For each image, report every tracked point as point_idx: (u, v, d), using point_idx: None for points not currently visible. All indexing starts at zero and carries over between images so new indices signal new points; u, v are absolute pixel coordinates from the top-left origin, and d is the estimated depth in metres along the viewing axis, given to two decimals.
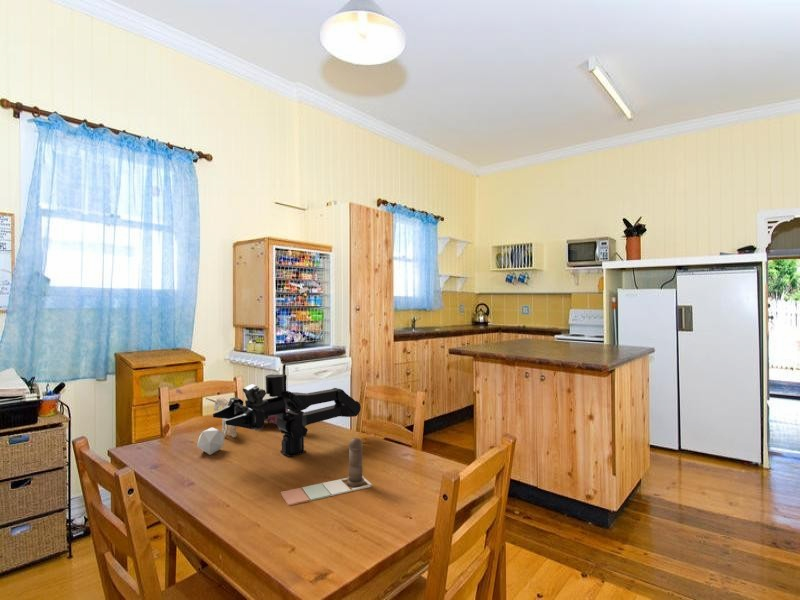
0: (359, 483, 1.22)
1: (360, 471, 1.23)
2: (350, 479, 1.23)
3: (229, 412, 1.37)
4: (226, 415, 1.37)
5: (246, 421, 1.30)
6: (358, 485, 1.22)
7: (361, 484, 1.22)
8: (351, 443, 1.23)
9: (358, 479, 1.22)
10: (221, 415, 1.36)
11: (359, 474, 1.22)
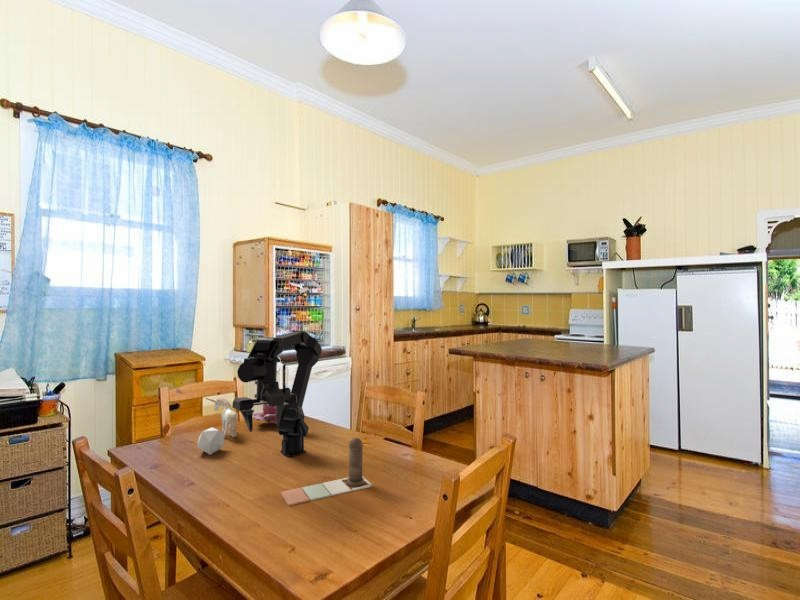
0: (359, 483, 1.22)
1: (360, 471, 1.23)
2: (350, 479, 1.23)
3: None
4: None
5: None
6: (358, 485, 1.22)
7: (361, 484, 1.22)
8: (351, 443, 1.23)
9: (358, 479, 1.22)
10: None
11: (359, 474, 1.22)
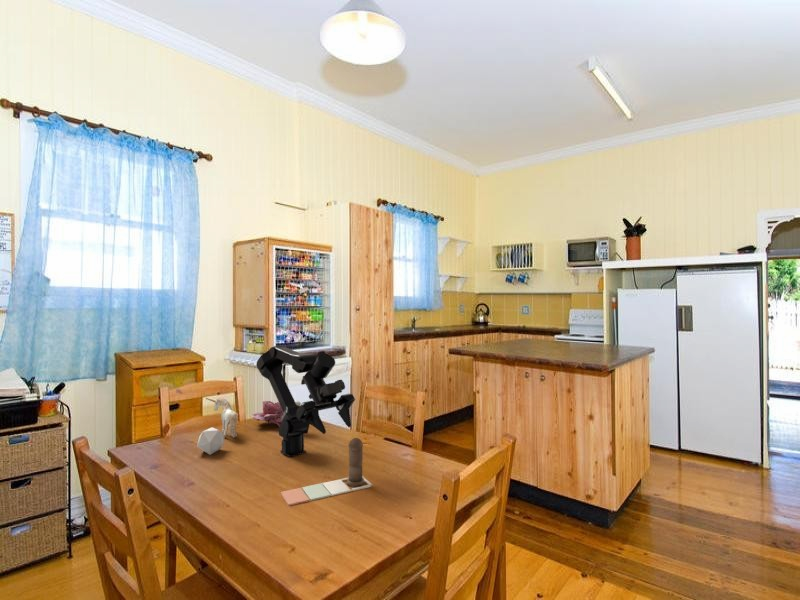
0: (359, 483, 1.22)
1: (360, 471, 1.23)
2: (350, 479, 1.23)
3: None
4: None
5: None
6: (358, 485, 1.22)
7: (361, 484, 1.22)
8: (351, 443, 1.23)
9: (358, 479, 1.22)
10: None
11: (359, 474, 1.22)
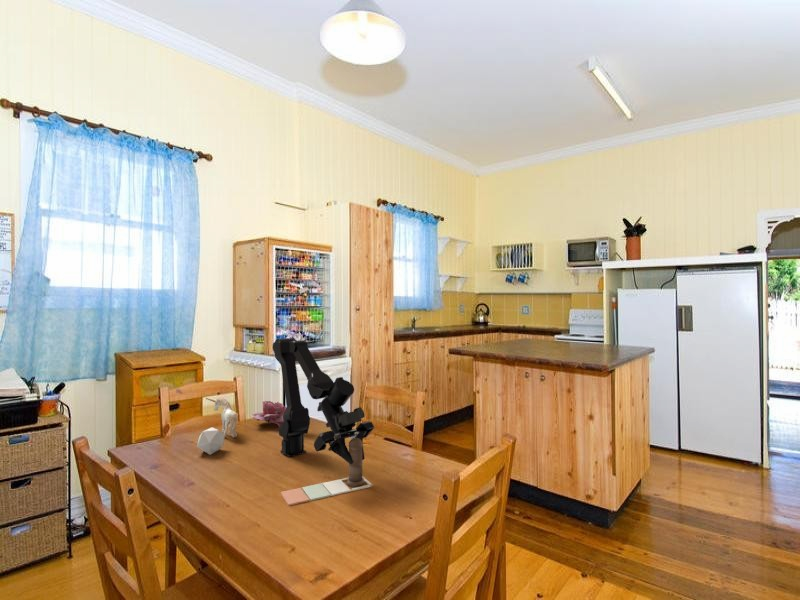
0: (359, 483, 1.22)
1: (360, 471, 1.23)
2: (350, 479, 1.23)
3: None
4: None
5: None
6: (358, 485, 1.22)
7: (361, 484, 1.22)
8: (351, 443, 1.23)
9: (358, 479, 1.22)
10: None
11: (359, 474, 1.22)
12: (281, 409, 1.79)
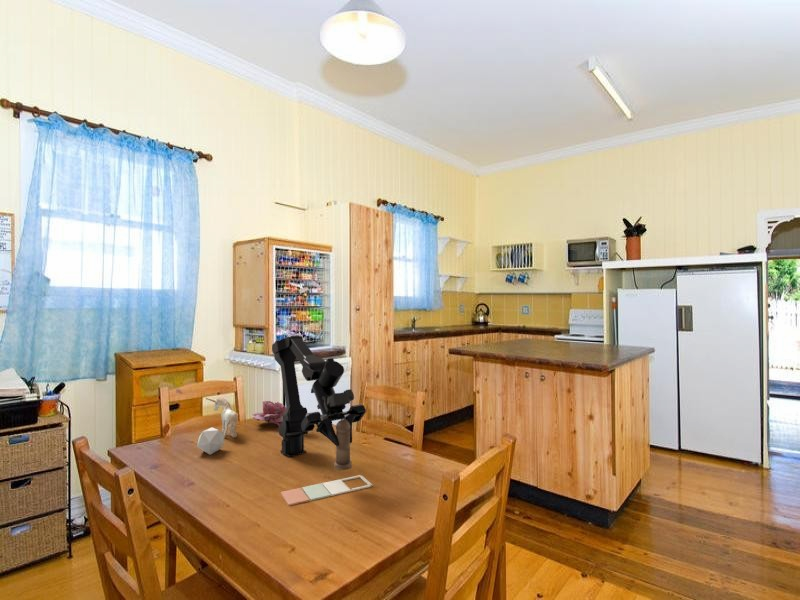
0: (345, 466, 1.19)
1: (347, 454, 1.20)
2: (337, 461, 1.20)
3: None
4: None
5: None
6: (344, 468, 1.19)
7: (348, 467, 1.19)
8: (338, 425, 1.20)
9: (345, 462, 1.19)
10: None
11: (345, 457, 1.19)
12: (281, 409, 1.79)
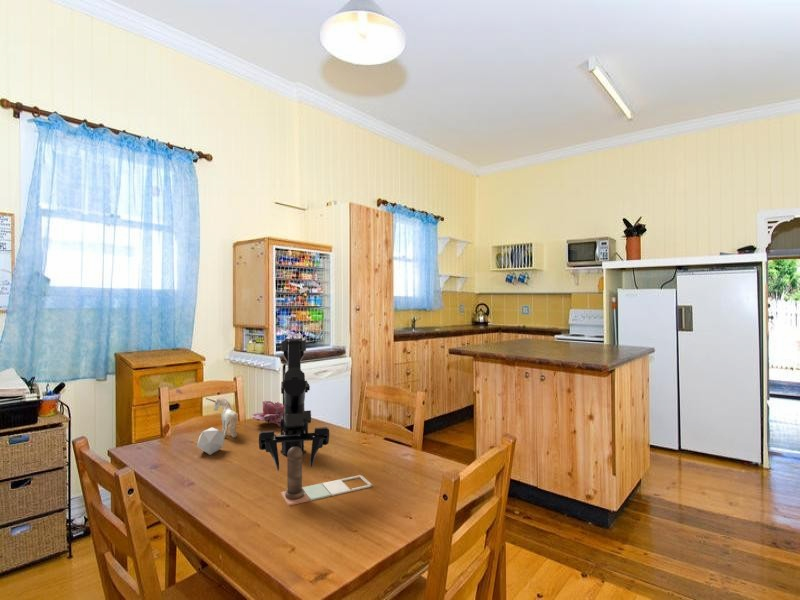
0: (293, 496, 1.13)
1: (295, 483, 1.14)
2: (287, 489, 1.15)
3: None
4: None
5: None
6: (291, 498, 1.13)
7: (295, 497, 1.13)
8: (288, 451, 1.15)
9: (293, 491, 1.13)
10: None
11: (293, 486, 1.13)
12: (281, 409, 1.79)
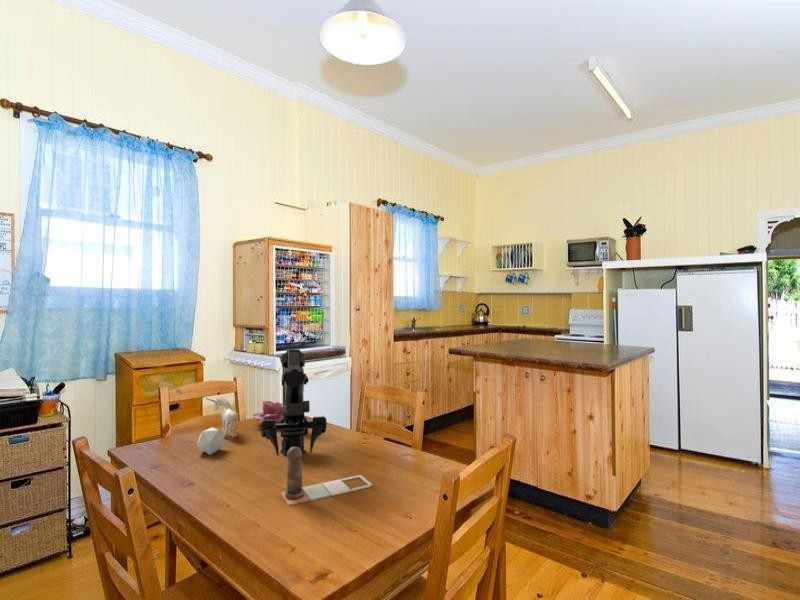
0: (292, 496, 1.13)
1: (295, 483, 1.14)
2: (287, 489, 1.15)
3: None
4: None
5: None
6: (291, 498, 1.13)
7: (295, 497, 1.13)
8: None
9: (293, 491, 1.13)
10: None
11: (293, 486, 1.13)
12: (281, 409, 1.79)
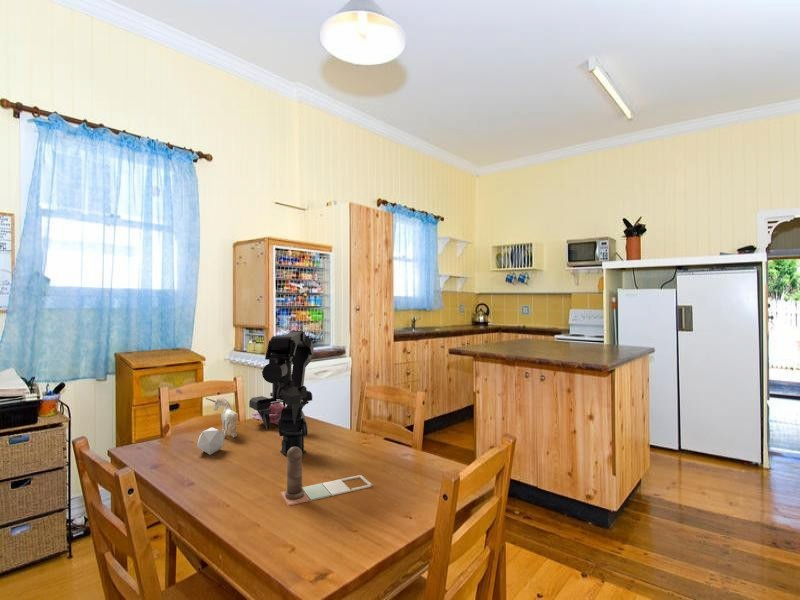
0: (292, 496, 1.13)
1: (295, 483, 1.14)
2: (287, 489, 1.15)
3: None
4: None
5: None
6: (291, 498, 1.13)
7: (295, 497, 1.13)
8: None
9: (293, 491, 1.13)
10: None
11: (293, 486, 1.13)
12: (281, 409, 1.79)
